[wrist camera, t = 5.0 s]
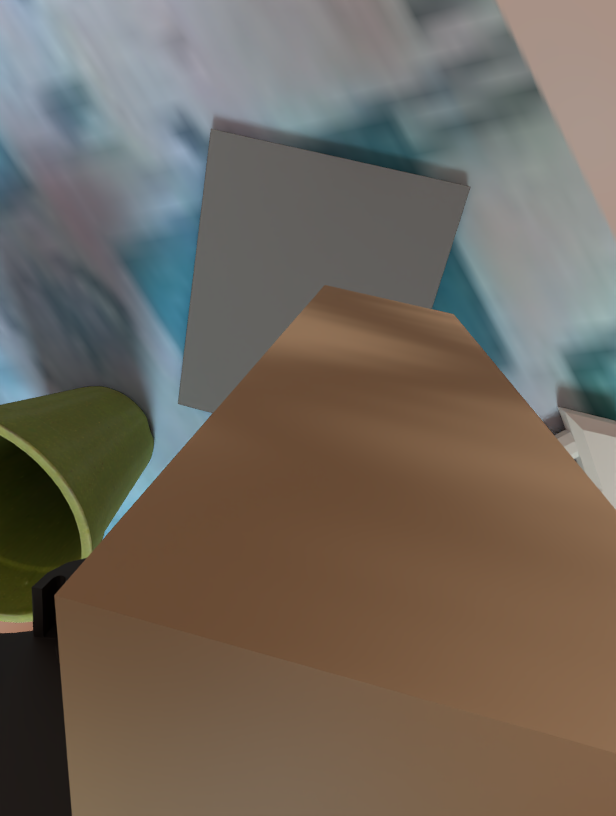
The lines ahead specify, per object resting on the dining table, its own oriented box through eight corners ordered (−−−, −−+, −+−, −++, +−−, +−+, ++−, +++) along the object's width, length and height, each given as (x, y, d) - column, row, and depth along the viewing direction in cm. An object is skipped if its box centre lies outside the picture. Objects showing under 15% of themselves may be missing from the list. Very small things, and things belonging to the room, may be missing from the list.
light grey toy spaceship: (707, 667, 26) (537, 695, 29) (671, 624, 29) (521, 653, 32) (625, 400, 22) (440, 462, 25) (595, 385, 26) (434, 441, 28)
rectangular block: (457, 315, 10) (909, 835, 1) (352, 616, 14) (316, 1188, 6) (324, 285, 10) (54, 595, 2) (260, 591, 14) (95, 1111, 6)
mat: (383, 454, 28) (384, 458, 27) (181, 401, 29) (178, 403, 28) (468, 188, 22) (470, 186, 22) (214, 131, 23) (211, 128, 23)
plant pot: (36, 486, 33) (-123, 592, 22) (28, 336, 29) (-169, 380, 18) (181, 522, 32) (88, 650, 22) (195, 373, 28) (89, 441, 17)
